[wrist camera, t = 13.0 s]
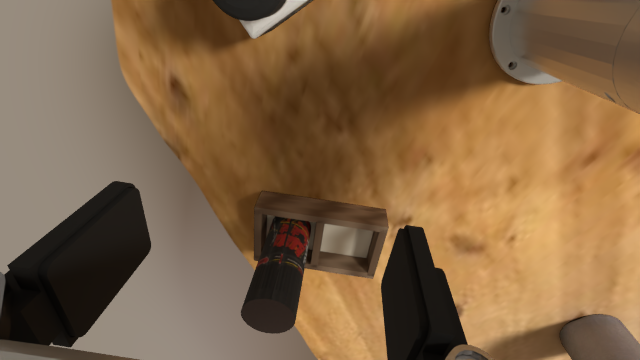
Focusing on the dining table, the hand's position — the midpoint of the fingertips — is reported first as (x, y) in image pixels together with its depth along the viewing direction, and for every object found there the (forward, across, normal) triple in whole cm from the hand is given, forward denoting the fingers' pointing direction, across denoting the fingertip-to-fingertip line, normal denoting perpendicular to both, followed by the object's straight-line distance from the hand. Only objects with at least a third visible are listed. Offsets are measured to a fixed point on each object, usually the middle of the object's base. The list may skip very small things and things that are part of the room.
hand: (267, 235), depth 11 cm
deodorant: (+27, +2, +23) cm, 36 cm away
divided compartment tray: (+28, -2, +23) cm, 37 cm away
